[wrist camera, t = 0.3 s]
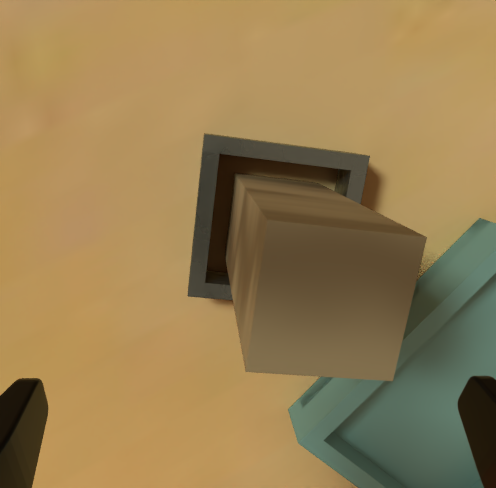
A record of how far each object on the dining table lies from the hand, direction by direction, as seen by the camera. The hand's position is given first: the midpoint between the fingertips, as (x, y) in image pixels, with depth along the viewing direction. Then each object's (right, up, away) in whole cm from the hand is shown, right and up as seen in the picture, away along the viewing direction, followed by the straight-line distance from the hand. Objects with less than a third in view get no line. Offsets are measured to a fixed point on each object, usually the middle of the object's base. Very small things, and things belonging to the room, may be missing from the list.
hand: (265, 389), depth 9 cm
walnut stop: (+1, +4, +15) cm, 15 cm away
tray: (+13, -6, +19) cm, 23 cm away
